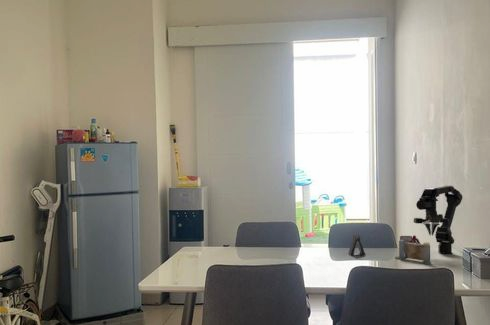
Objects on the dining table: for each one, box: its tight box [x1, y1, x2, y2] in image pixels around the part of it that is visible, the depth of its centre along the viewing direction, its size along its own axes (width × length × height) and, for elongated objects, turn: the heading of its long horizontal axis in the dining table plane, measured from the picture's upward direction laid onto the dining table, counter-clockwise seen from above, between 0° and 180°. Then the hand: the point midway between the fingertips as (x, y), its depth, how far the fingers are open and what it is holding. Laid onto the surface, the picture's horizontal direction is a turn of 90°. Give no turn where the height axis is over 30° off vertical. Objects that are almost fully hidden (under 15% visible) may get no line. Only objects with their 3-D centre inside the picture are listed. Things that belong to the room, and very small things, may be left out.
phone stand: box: [347, 233, 366, 257], centre depth 267 cm, size 9×6×12 cm, turn 89°
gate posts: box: [394, 239, 432, 265], centre depth 247 cm, size 20×7×11 cm, turn 45°
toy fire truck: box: [399, 235, 421, 247], centre depth 271 cm, size 7×12×10 cm, turn 84°
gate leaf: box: [405, 242, 431, 262], centre depth 246 cm, size 14×2×9 cm, turn 44°
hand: (431, 235), depth 260 cm, fingers closed
